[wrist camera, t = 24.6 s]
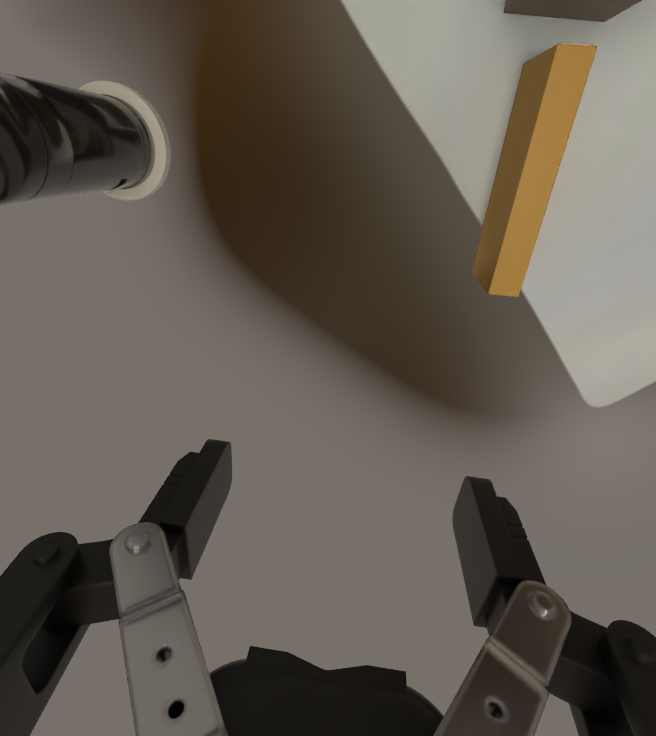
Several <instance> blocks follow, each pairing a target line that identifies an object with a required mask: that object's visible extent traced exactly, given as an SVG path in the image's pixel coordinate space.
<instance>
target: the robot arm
mask: <svg viewBox="0 0 656 736" xmlns="http://www.w3.org/2000/svg"><path fill="white" fill-rule="evenodd" d="M154 160H155V147H154V141H153V137H152V134H151V132H150V129H149V127H148V125H147V123H146V122H145V120H144V119H143V117H142V116H141V115H140V113H139V112H138V111H137V110H136V109H135V108H134V107H133V106H132V105H130V104H129V103H127V102H126V101H124V100H122V99H120V98H118V97H115V96H111V95H106V94H97V93H93V92H89V91H84V90H79V89H75V88H70V87H66V86H61V85H56V84H51V83H47V82H42V81H37V80H33V79H28V78H24V77H19V76H14V75H9V74H5V73H0V205H7V204H14V203H22V202H28V201H36V200H43V199H49V198H56V197H64V196H71V195H78V194H86V193H93V192H100V191H108V190H112V191H110V192H108V193H106V194H109V193H112V192H114V191H116V190H118V189H130V188H134V187H137V186H139V185H140V184H142V183H143V182H144V181H145V180H146V179H147V178H148V177H149V175H150V173H151V171H152V169H153V166H154ZM231 481H232V456H231V443H230V442H226V441H219V440H212V439H208V440H207V441H206V443H205V444H204V446H203V448H202V450H201V451H200V453H195V452H189V453H188V454H187V455H185V456H184V457H183V458H181V459H180V460H179V461H178V462H177V463H176V465H175V466H174V468H173V469H172V471H171V473H170V475H169V476H168V477H167V479H166V480H165V482H164V485H162V487H161V488H160V490H159V491H158V493H157V495H156V496H155V498H154V499H153V501H152V502H151V504H150V505H149V507H148V508H147V510H146V512H145V513H144V515H143V516H142V518H141V520H140V521H139V522H138V523H137V524H134V525H131V526H129V527H127V528H125V529H124V530H123V531H121V532H120V533H119V534H118V535H117V536H116V537H115V538H114V539H111V540H106V541H100V542H92V543H85V544H78V543H77V540H76V538H75V537H74V536H73V535H71V534H69V533H64V532H56V533H51V534H47V535H44V536H41V537H39V538H37V539H36V540H34V541H32V542H31V543H29V544H28V545H27V546H26V547H25V548H23V550H22V551H21V552H20V553H19V554H18V555H17V557H16V558H15V559H14V560H13V562H12V563H11V564H10V565H9V566H8V568H7V569H6V570H5V571H4V573H3V574H2V575H1V576H0V736H30V734H31V732H32V730H33V729H34V727H35V725H36V723H37V721H38V719H39V717H40V716H41V714H42V712H43V710H44V708H45V706H46V705H47V703H48V701H49V699H50V697H51V695H52V693H53V692H54V690H55V688H56V686H57V684H58V682H59V680H60V679H61V677H62V675H63V673H64V671H65V670H66V668H67V666H68V664H69V662H70V660H71V658H72V657H73V655H74V653H75V651H76V649H77V647H78V645H79V644H80V642H81V640H82V638H83V636H84V634H85V633H86V631H87V629H88V627H89V625H90V624H92V623H98V622H103V621H109V620H115V619H119V627H120V634H121V640H122V647H123V654H124V660H125V667H126V673H127V680H128V687H129V693H130V700H131V706H132V712H133V719H134V726H135V732H136V736H534V735H535V732H536V729H537V727H538V724H539V721H540V718H541V716H542V713H543V710H544V707H545V705H546V702H547V699H548V696H549V693H550V694H553V695H554V696H556V697H558V698H560V699H562V700H564V701H566V702H568V703H569V705H570V708H571V711H572V714H573V718H574V721H575V724H576V728H577V731H578V734H579V736H656V637H655V636H653V635H652V634H651V633H650V632H648V631H647V630H646V629H644V628H642V627H640V626H639V625H637V624H634V623H632V622H629V621H624V620H617V621H614V622H612V623H611V624H610V625H609V626H608V628H605V627H603V626H601V625H599V624H597V623H594V622H592V621H590V620H587V619H586V618H583V617H581V616H579V615H577V614H575V613H573V612H572V611H570V610H569V608H568V607H567V605H566V603H565V602H564V600H563V599H562V598H561V597H560V596H559V595H558V594H557V593H556V592H555V591H554V590H553V589H551V588H550V587H548V586H547V585H546V583H545V581H544V578H543V576H542V573H541V571H540V568H539V566H538V563H537V561H536V558H535V556H534V553H533V551H532V548H531V546H530V543H529V541H528V540H527V536H526V533H525V531H524V528H522V523H521V521H520V518H519V516H518V513H517V511H516V510H515V508H514V507H513V506H512V505H511V504H510V503H509V501H508V500H507V499H506V498H503V497H497V496H496V493H495V490H494V487H493V485H492V482H491V481H490V480H489V479H483V478H476V477H469V476H466V477H465V478H464V481H463V483H462V486H461V489H460V492H459V495H458V498H457V501H456V504H455V507H454V510H453V529H454V533H455V538H456V543H457V547H458V552H459V557H460V562H461V567H462V572H463V576H464V581H465V585H466V591H467V595H468V600H469V605H470V610H471V614H472V619H473V624H474V626H479V627H486V628H487V630H488V634H489V637H488V639H487V640H486V642H485V643H484V645H483V647H482V649H481V650H480V652H479V654H478V656H477V658H476V660H475V661H474V663H473V665H472V667H471V668H470V670H469V672H468V674H467V676H466V678H465V679H464V681H463V683H462V685H461V686H460V688H459V690H458V692H457V694H456V696H455V697H454V699H453V701H452V703H451V705H450V706H449V708H448V710H447V712H446V714H445V715H444V716H443V715H442V714H441V712H440V711H439V710H438V709H437V708H436V707H435V706H434V705H433V704H432V703H431V702H430V701H429V700H428V699H426V698H425V697H424V696H423V695H422V694H420V693H419V692H417V691H416V690H414V689H412V688H411V687H409V686H406V672H405V671H398V670H393V669H386V668H380V667H374V666H368V665H365V666H358V667H351V668H343V669H336V670H324V669H321V668H319V667H317V666H315V665H313V664H311V663H309V662H307V661H305V660H303V659H301V658H298V657H296V656H294V655H292V654H290V653H288V652H283V651H277V650H271V649H264V648H259V647H253V646H250V648H249V652H248V656H247V659H242V660H237V661H233V662H230V663H228V664H225V665H223V666H221V667H219V668H217V669H215V670H214V671H212V672H210V673H209V672H208V669H207V666H206V662H205V659H204V656H203V652H202V649H201V646H200V642H199V639H198V636H197V632H196V629H195V626H194V622H193V619H192V616H191V612H190V609H189V606H188V602H187V599H186V596H185V593H184V591H183V590H181V587H180V584H179V579H180V578H184V579H190V580H191V579H192V577H193V574H194V572H195V570H196V567H197V565H198V563H199V560H200V558H201V556H202V554H203V551H204V549H205V547H206V544H207V542H208V539H209V537H210V535H211V532H212V530H213V528H214V526H215V523H216V521H217V519H218V516H219V514H220V511H221V509H222V507H223V505H224V502H225V500H226V498H227V495H228V493H229V490H230V486H231Z"/></svg>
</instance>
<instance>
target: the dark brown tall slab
mask: <svg viewBox="0 0 656 736" xmlns="http://www.w3.org/2000/svg"><path fill="white" fill-rule="evenodd" d="M640 1H641V0H506V4H505V8H504V13H513V14H524V15H535V16H547V17H558V18H569V19H581V20H592V21H603V22H605V21H607V20H608V19H610V18H612V17H614V16H615V15H617V14H619V13H620V12H622V11H624V10H626V9H627V8H629V7H631V6H633V5H634V4H636V3H638V2H640Z"/></svg>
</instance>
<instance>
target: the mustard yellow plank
mask: <svg viewBox="0 0 656 736" xmlns="http://www.w3.org/2000/svg"><path fill="white" fill-rule="evenodd" d="M596 49H597V46H593V45H592V44H578V43H564V42H562V43H560V44H559V43H558V44H556V45H555V46H553V47H551V48H550V49H548V50H546V51H545V52H543V53H541V54H540V55H538V56H536V57H535V58H533V59H531V60H530V61H528V62H526V63H525V64H524V65H523V69H522V73H521V77H520V81H519V85H518V89H517V93H516V97H515V101H514V105H513V109H512V113H511V117H510V121H509V125H508V129H507V133H506V137H505V141H504V145H503V149H502V153H501V157H500V161H499V165H498V169H497V173H496V177H495V181H494V185H493V189H492V193H491V197H490V201H489V205H488V209H487V213H486V217H485V221H484V225H483V229H482V233H481V237H480V241H479V245H478V249H477V253H476V257H475V261H474V265H473V269H472V274H473V276H474V277H475V278H476V279H477V280H478V281H479V283H480V284H481V285H482V287H483V288H484V289H485V290H486V292H487V293H488V294H494V295H503V296H512V297H518V296H519V293H520V290H521V286H522V283H523V280H524V277H525V274H526V271H527V267H528V264H529V261H530V258H531V255H532V252H533V248H534V245H535V242H536V239H537V236H538V233H539V229H540V226H541V223H542V220H543V217H544V214H545V210H546V207H547V204H548V201H549V198H550V195H551V191H552V188H553V185H554V182H555V179H556V176H557V172H558V169H559V166H560V163H561V160H562V157H563V153H564V150H565V147H566V144H567V141H568V138H569V134H570V131H571V128H572V125H573V122H574V119H575V115H576V112H577V109H578V106H579V103H580V100H581V96H582V93H583V90H584V87H585V84H586V81H587V77H588V74H589V71H590V68H591V65H592V62H593V58H594V55H595V52H596Z"/></svg>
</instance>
